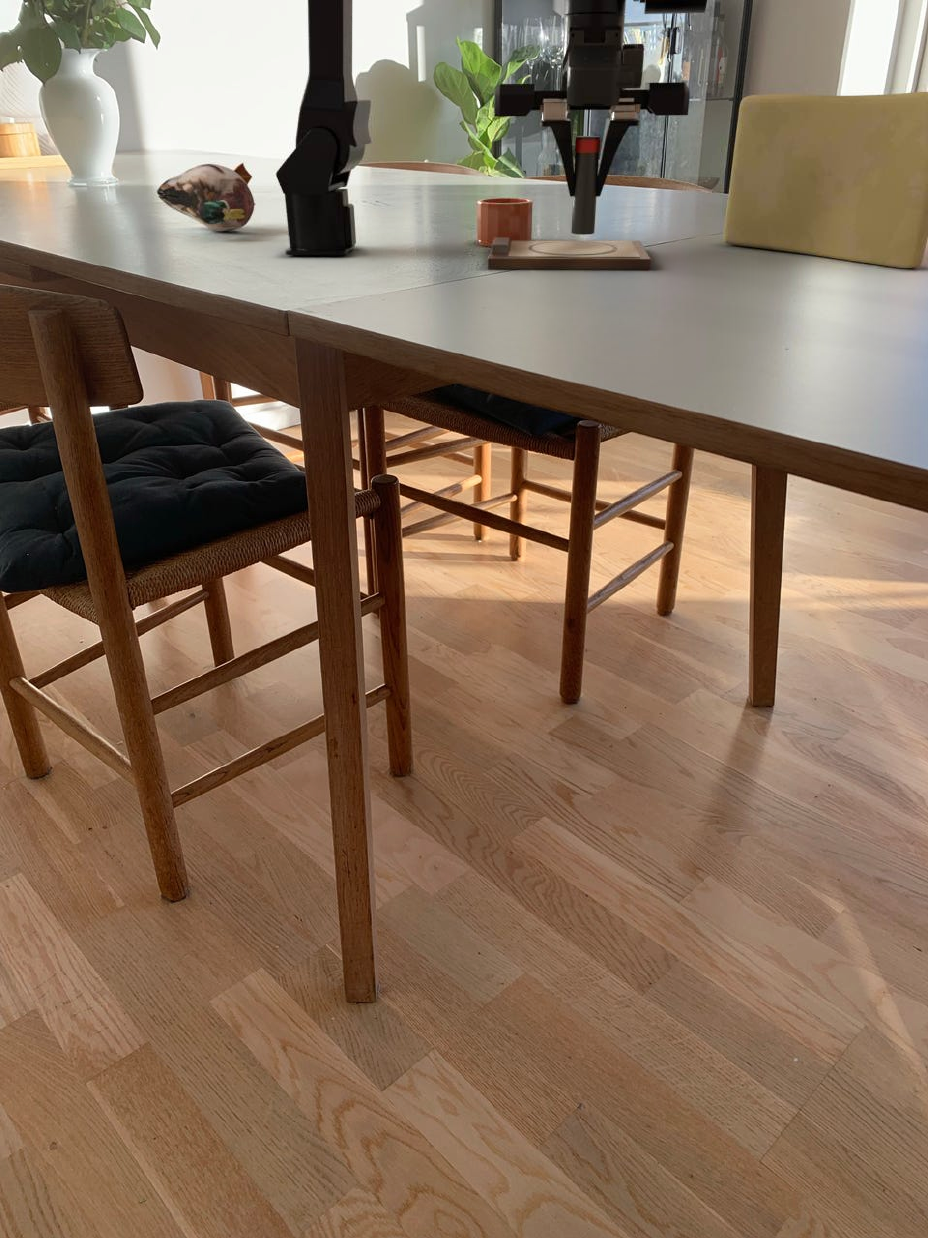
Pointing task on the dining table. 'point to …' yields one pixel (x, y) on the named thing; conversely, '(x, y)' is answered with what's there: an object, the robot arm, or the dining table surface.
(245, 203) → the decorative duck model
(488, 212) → the pen pot
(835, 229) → the cheese
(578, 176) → the marker
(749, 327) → the dining table surface
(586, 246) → the wooden board with ring
